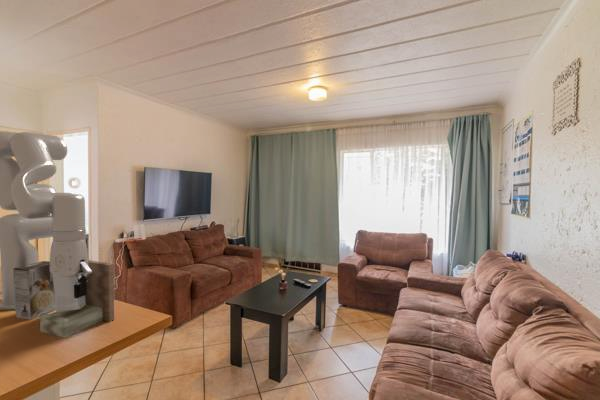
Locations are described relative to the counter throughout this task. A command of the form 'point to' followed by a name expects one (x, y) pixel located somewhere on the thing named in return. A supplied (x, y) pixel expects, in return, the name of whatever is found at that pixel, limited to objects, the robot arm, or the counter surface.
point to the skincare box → (66, 293)
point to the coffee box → (33, 290)
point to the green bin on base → (94, 309)
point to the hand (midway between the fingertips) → (70, 294)
